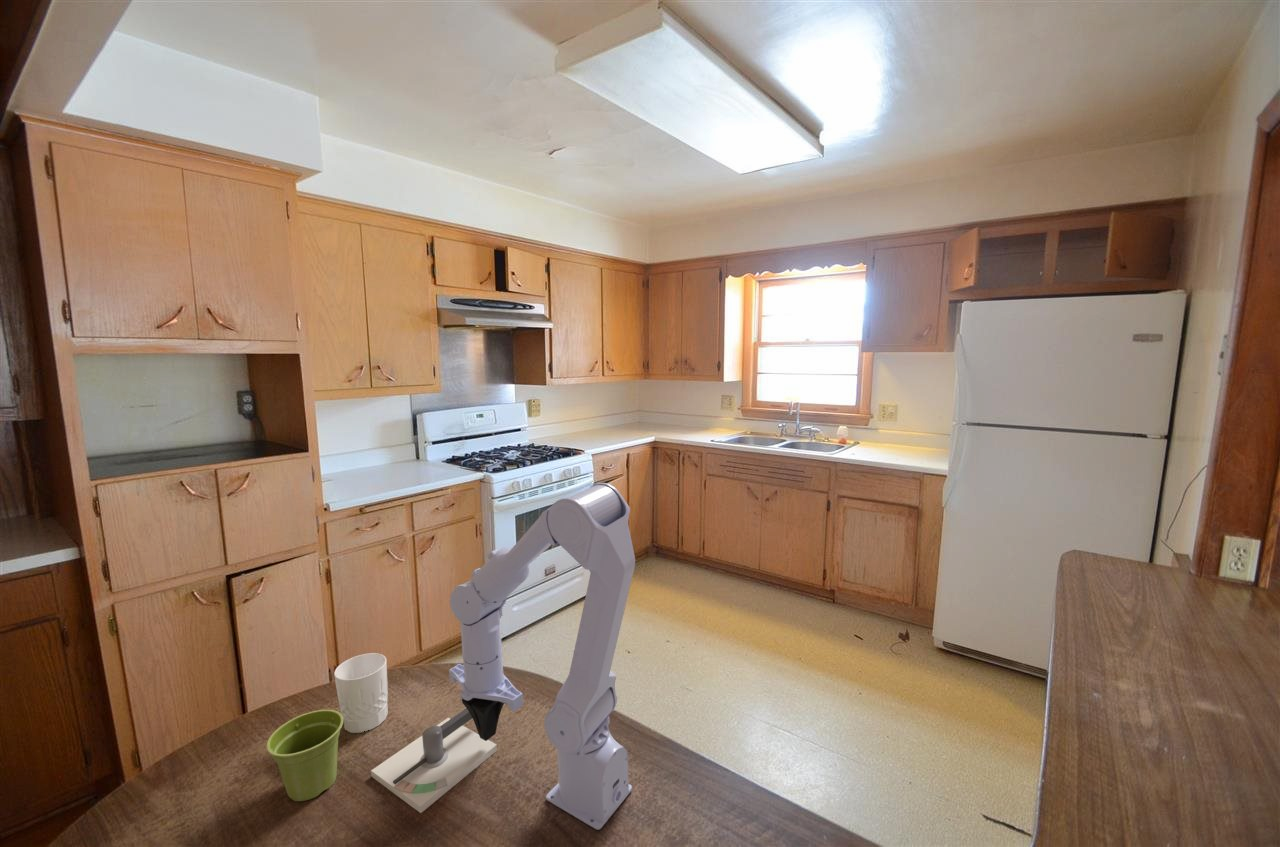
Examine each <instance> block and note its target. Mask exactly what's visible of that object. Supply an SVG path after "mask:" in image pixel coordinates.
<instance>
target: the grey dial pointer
mask: <svg viewBox="0 0 1280 847" xmlns="http://www.w3.org/2000/svg"><path fill="white" fill-rule="evenodd" d="M470 720H473V718H472V716H471V714H470V712H469V711H468V709H467V708H466V707H465V708H464V709H463V710H462V711H460V712H459V713H457V714H455V715H454V716H453V717H451V718H450V720H449V721H447V722H446V723H444V724H443V725H441V726H440V727H439V726H437V725H433V726H429V727H426V729H425V730H423V732H422V735H421V736H422V738H423V750H424V759H422V760H421V761H420V762H418V763H417V764H416V765H414V766H413V767H411V768H410V769H409V770H407V771H406V772H405V773H403V774H402V775H401V776H399V777H398V778H396V779H395V780H394V781H393V783H394V784H396V783H398V782H399V781H400V780H402V779H403V778H405V777H406V776H407V775H409V774H410V773H411V772H413V771H414V770H415V769H417V768H418V767H419V766H421V765H422V764H424V763H425V762H426V763H430V764H431V763H436V762H438V761H439V760H441V759H442V758H443V756H444V748H443V739H444V738H446V737H447V736H448V735H450V734H451V733H453V732H454V731H455V730H457V729H458V728H460V727H461V726H462V725H463V726H464V725H465V724H467V722H469V721H470Z"/></svg>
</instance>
